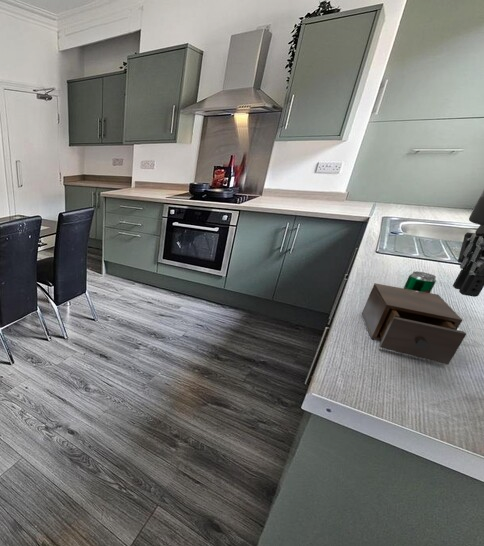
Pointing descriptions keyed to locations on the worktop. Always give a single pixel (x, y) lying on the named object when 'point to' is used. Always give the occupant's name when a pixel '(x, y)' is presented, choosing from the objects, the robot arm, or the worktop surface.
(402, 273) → the worktop surface
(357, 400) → the worktop surface
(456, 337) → the drawer
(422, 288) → the soda can
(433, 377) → the worktop surface
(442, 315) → the cabinet
